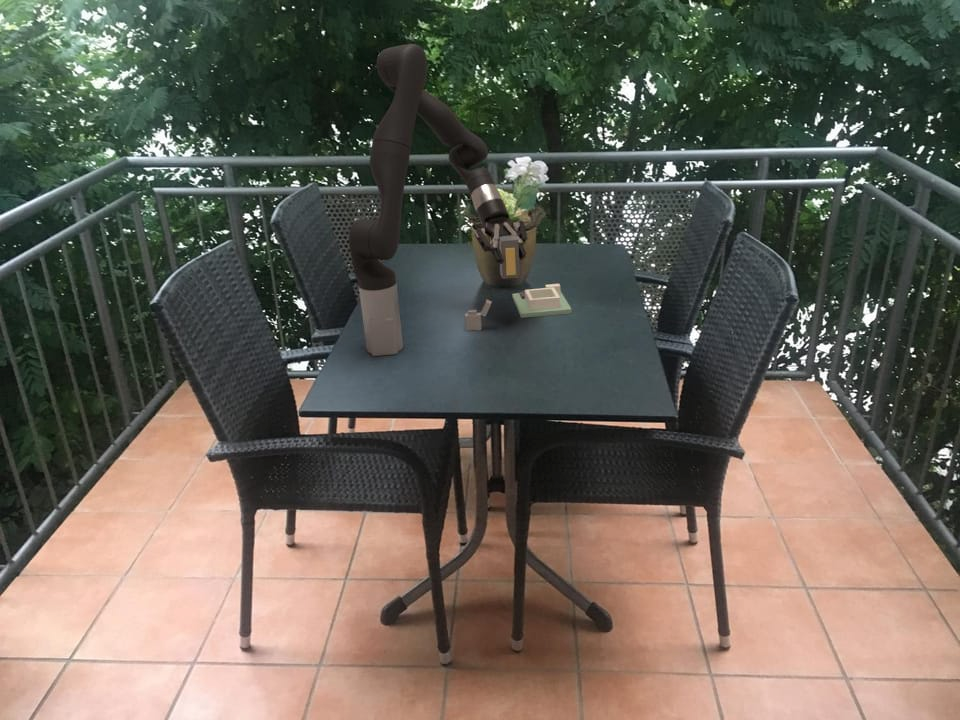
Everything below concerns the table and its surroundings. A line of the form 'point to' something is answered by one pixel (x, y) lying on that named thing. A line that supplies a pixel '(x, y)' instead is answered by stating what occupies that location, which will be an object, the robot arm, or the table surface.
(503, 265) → the grey yellow block
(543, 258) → the table surface
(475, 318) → the lighter
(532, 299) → the board
